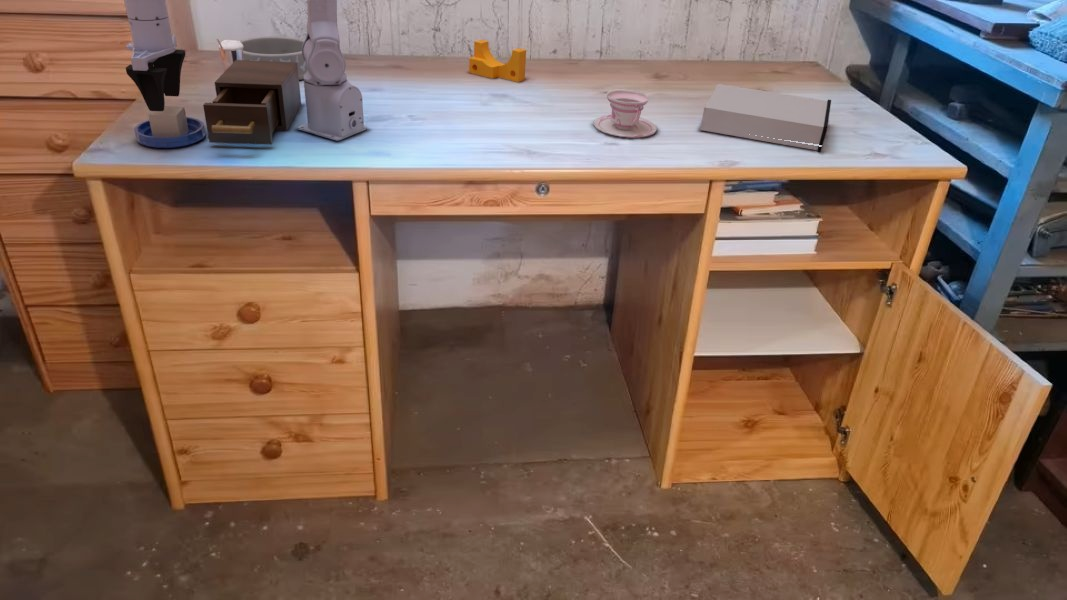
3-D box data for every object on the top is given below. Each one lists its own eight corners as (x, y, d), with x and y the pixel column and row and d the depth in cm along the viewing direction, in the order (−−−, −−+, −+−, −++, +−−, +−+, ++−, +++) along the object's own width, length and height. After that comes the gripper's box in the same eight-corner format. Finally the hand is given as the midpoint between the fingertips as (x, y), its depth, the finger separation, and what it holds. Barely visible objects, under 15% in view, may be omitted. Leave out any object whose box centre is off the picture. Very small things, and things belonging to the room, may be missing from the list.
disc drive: (821, 152, 143) (828, 126, 141) (699, 131, 149) (704, 105, 147) (825, 124, 158) (831, 100, 155) (714, 106, 164) (718, 82, 161)
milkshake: (216, 89, 154) (208, 37, 149) (237, 82, 158) (229, 32, 153) (233, 93, 152) (226, 41, 147) (253, 87, 157) (247, 35, 151)
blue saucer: (219, 136, 133) (217, 125, 132) (166, 154, 125) (164, 142, 124) (176, 123, 137) (174, 112, 136) (122, 140, 129) (120, 128, 128)
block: (189, 131, 133) (184, 106, 130) (180, 141, 129) (176, 115, 127) (162, 131, 132) (157, 105, 130) (153, 140, 129) (147, 114, 126)
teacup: (582, 120, 151) (585, 88, 148) (636, 115, 155) (640, 84, 152) (612, 141, 142) (616, 108, 139) (668, 135, 146) (673, 103, 143)
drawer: (266, 152, 126) (261, 114, 122) (202, 151, 125) (195, 112, 121) (287, 118, 140) (283, 83, 136) (230, 116, 139) (224, 81, 136)
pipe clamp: (469, 72, 174) (469, 43, 171) (480, 68, 177) (481, 39, 174) (513, 83, 169) (515, 53, 166) (524, 79, 172) (526, 49, 169)
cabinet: (286, 130, 137) (281, 84, 133) (221, 128, 136) (214, 82, 132) (301, 105, 149) (297, 62, 145) (241, 102, 148) (235, 59, 144)
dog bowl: (280, 54, 177) (278, 30, 175) (336, 71, 169) (334, 46, 166) (215, 68, 165) (211, 43, 162) (271, 88, 157) (268, 61, 154)
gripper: (138, 5, 126) (154, 88, 133) (102, 26, 114) (122, 116, 121) (183, 7, 127) (197, 90, 134) (152, 28, 115) (169, 118, 122)
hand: (164, 102), depth 128 cm, fingers open, 7 cm apart
